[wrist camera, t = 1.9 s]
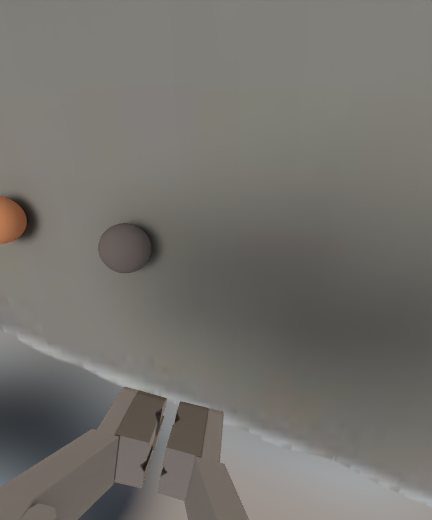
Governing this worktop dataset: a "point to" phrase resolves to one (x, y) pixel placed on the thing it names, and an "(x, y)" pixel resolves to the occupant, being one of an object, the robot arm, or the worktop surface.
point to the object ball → (11, 220)
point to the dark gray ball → (124, 248)
